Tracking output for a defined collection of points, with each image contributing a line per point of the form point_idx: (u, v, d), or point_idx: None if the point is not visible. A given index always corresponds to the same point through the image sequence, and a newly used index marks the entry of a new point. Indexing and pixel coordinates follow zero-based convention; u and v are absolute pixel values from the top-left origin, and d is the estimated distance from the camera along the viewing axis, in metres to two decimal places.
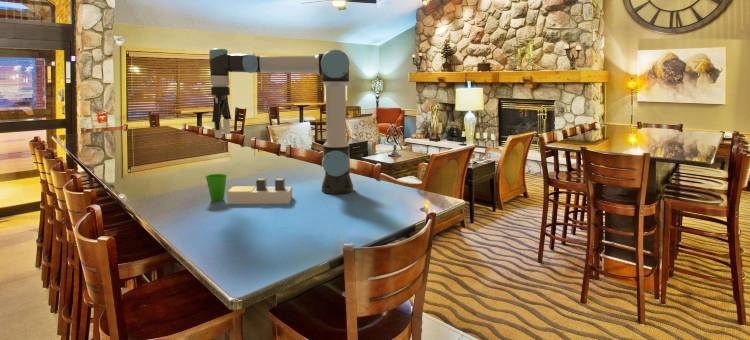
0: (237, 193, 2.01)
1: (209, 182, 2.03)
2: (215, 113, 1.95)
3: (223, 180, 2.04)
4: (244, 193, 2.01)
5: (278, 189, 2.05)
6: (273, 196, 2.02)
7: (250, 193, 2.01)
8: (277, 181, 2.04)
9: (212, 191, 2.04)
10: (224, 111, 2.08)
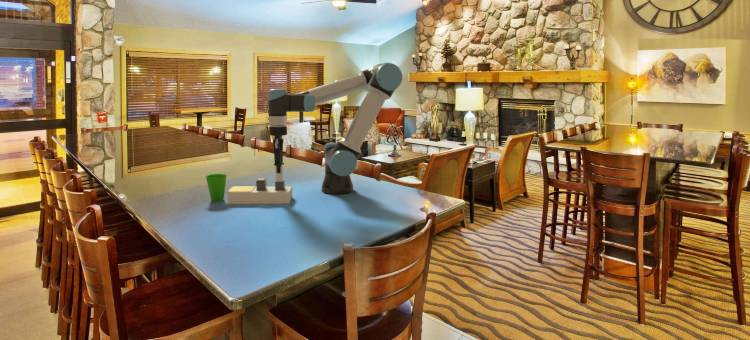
0: (237, 193, 2.01)
1: (209, 182, 2.03)
2: (276, 158, 2.00)
3: (223, 180, 2.04)
4: (244, 193, 2.01)
5: (278, 190, 2.05)
6: (273, 196, 2.02)
7: (250, 193, 2.01)
8: (277, 183, 2.05)
9: (212, 191, 2.04)
10: None
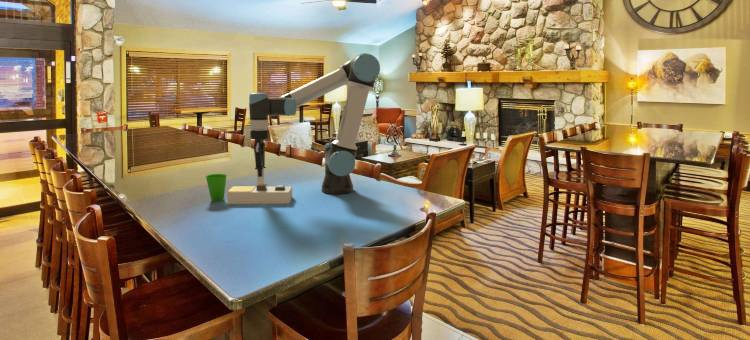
0: (237, 193, 2.01)
1: (209, 182, 2.03)
2: (258, 162, 2.00)
3: (223, 180, 2.04)
4: (244, 193, 2.01)
5: None
6: (273, 196, 2.02)
7: (250, 193, 2.01)
8: (277, 188, 2.05)
9: (212, 191, 2.04)
10: None
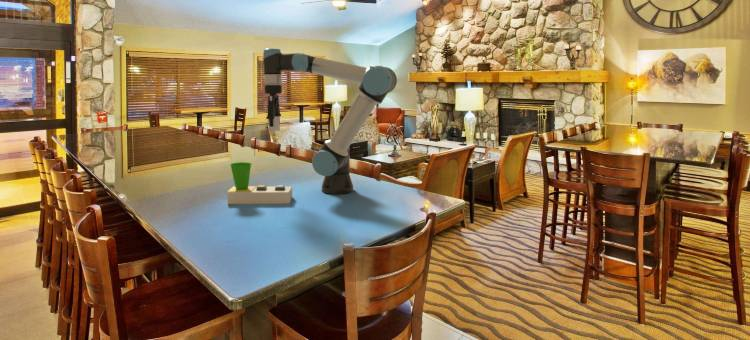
0: (237, 193, 2.01)
1: (234, 170, 2.01)
2: (270, 110, 2.03)
3: (248, 168, 2.03)
4: (244, 193, 2.01)
5: None
6: (273, 196, 2.02)
7: (250, 193, 2.01)
8: (277, 188, 2.05)
9: (237, 179, 2.02)
10: (275, 109, 2.17)
